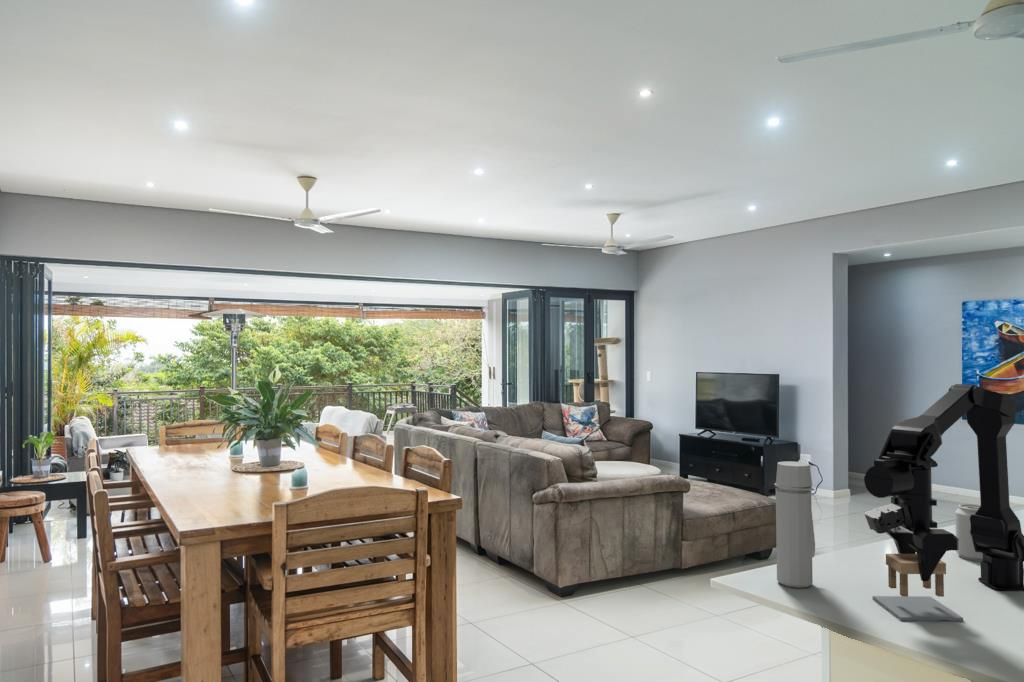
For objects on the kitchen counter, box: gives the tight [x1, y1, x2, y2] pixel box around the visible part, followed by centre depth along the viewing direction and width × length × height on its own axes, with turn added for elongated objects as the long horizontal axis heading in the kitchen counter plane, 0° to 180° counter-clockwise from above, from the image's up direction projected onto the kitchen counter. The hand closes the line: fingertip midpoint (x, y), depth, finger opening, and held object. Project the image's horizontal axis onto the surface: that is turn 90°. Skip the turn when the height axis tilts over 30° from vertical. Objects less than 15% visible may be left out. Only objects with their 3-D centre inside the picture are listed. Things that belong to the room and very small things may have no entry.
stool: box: [885, 553, 947, 598], centre depth 133 cm, size 6×8×6 cm
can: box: [954, 503, 983, 562], centre depth 166 cm, size 8×8×12 cm
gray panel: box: [872, 595, 964, 622], centre depth 133 cm, size 11×11×1 cm
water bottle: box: [773, 460, 816, 589], centre depth 149 cm, size 9×8×25 cm
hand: (915, 575), depth 133 cm, fingers closed on stool, 6 cm apart
